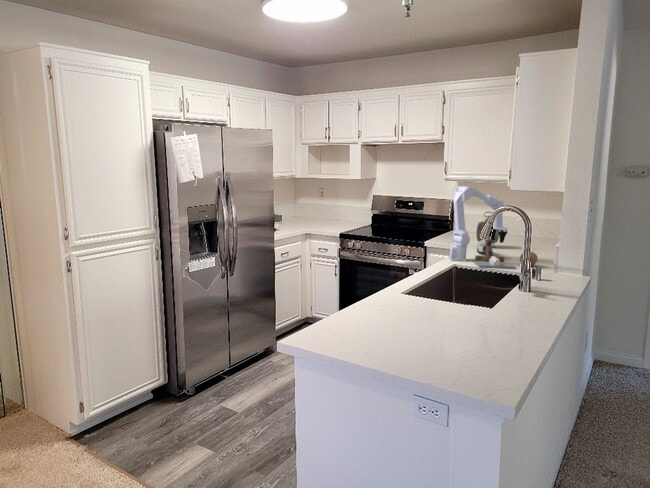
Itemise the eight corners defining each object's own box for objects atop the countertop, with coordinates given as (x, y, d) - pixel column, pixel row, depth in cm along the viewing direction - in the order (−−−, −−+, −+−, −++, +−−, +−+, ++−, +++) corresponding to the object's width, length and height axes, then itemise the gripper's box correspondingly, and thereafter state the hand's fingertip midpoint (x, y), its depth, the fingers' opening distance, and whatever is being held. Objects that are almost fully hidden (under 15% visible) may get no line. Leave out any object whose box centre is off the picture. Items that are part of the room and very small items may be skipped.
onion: (521, 269, 277) (516, 253, 279) (538, 266, 275) (533, 250, 277) (523, 267, 268) (519, 250, 270) (541, 263, 266) (536, 246, 268)
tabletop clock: (475, 247, 329) (478, 211, 325) (475, 245, 338) (477, 210, 333) (497, 248, 326) (501, 212, 321) (496, 246, 334) (499, 211, 330)
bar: (476, 262, 281) (476, 256, 281) (474, 261, 284) (475, 255, 284) (503, 263, 280) (504, 257, 279) (502, 262, 283) (502, 256, 282)
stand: (479, 267, 266) (479, 259, 265) (474, 262, 277) (474, 255, 277) (515, 269, 264) (516, 261, 263) (509, 264, 276) (509, 256, 275)
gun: (483, 261, 312) (483, 239, 313) (494, 258, 285) (495, 233, 286) (475, 261, 312) (476, 239, 314) (486, 258, 285) (486, 233, 287)
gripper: (511, 220, 284) (511, 242, 287) (494, 217, 297) (494, 238, 300) (501, 221, 282) (501, 244, 285) (485, 219, 295) (485, 240, 298)
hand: (497, 241), depth 292 cm, fingers open, 7 cm apart
